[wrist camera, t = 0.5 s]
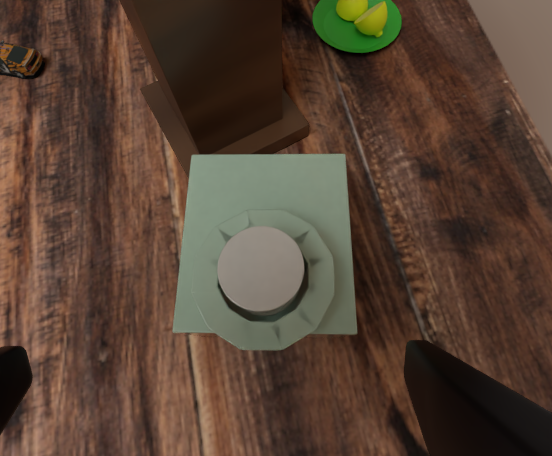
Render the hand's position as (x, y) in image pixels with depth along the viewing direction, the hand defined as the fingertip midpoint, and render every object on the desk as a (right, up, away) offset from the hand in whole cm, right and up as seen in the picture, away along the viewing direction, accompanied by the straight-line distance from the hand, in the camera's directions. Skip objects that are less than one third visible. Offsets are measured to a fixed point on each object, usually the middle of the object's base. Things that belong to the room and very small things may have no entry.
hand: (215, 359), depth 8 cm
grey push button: (+1, +1, +8) cm, 8 cm away
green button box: (+1, +1, +16) cm, 16 cm away
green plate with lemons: (+9, +22, +23) cm, 33 cm away
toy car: (-22, +18, +23) cm, 36 cm away
